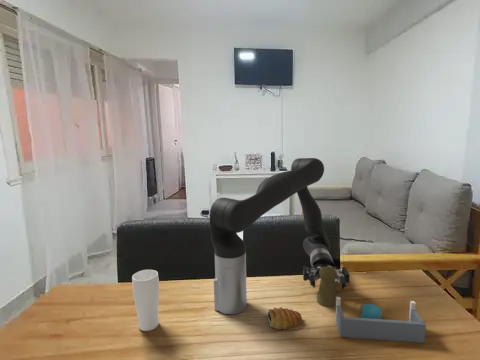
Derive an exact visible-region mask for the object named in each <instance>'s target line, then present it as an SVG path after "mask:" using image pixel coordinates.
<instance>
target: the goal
mask: <svg viewBox="0 0 480 360" xmlns="http://www.w3.org/2000/svg"><path fill="white" fill-rule="evenodd" d="M341 300H342V298H341V297H340V296H337V297H336V306H335V323H336V327H337V331H338V334H339V337H340V338H352V339H363V340H365V339H366V340H377V341H378V340H379V341H392V342H393V341H394V342H405V343H417V344H418V343H419V344H424V343H425V339H426V327H427V324H426V323H425V322H424V320H423V319H422V317H421V315H420V314H419V313H418V312H417V311H416V308H417V306H416V305H417V302H415V301H414V300H410V301H409V312H408V313H409V314H408V320H398V319H382V318H381V319H370V318H362V317H351V316H345V315H344V313H343V309H342V306H341V303H342V301H341Z"/></svg>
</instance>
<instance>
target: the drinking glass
mask: <svg viewBox="0 0 480 360" xmlns="http://www.w3.org/2000/svg"><path fill="white" fill-rule="evenodd" d="M159 281H160V279H159V272H158V271H157V270H154V269H142V270H139V271H137V272H135V273H134V274H132V276H131V282H132V294H133V295H132V296H133V299H134V304H135V311H136V317H137V323H138V325H137V326H138V329H139V330H141V331H143V332H151V331H153V330H155V329H156V328H158V326H159V324H160V322H159V320H160V319H159V318H160V317H159V315H160V314H159V309H160V308H159V307H160V304H159V303H160V282H159Z"/></svg>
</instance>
